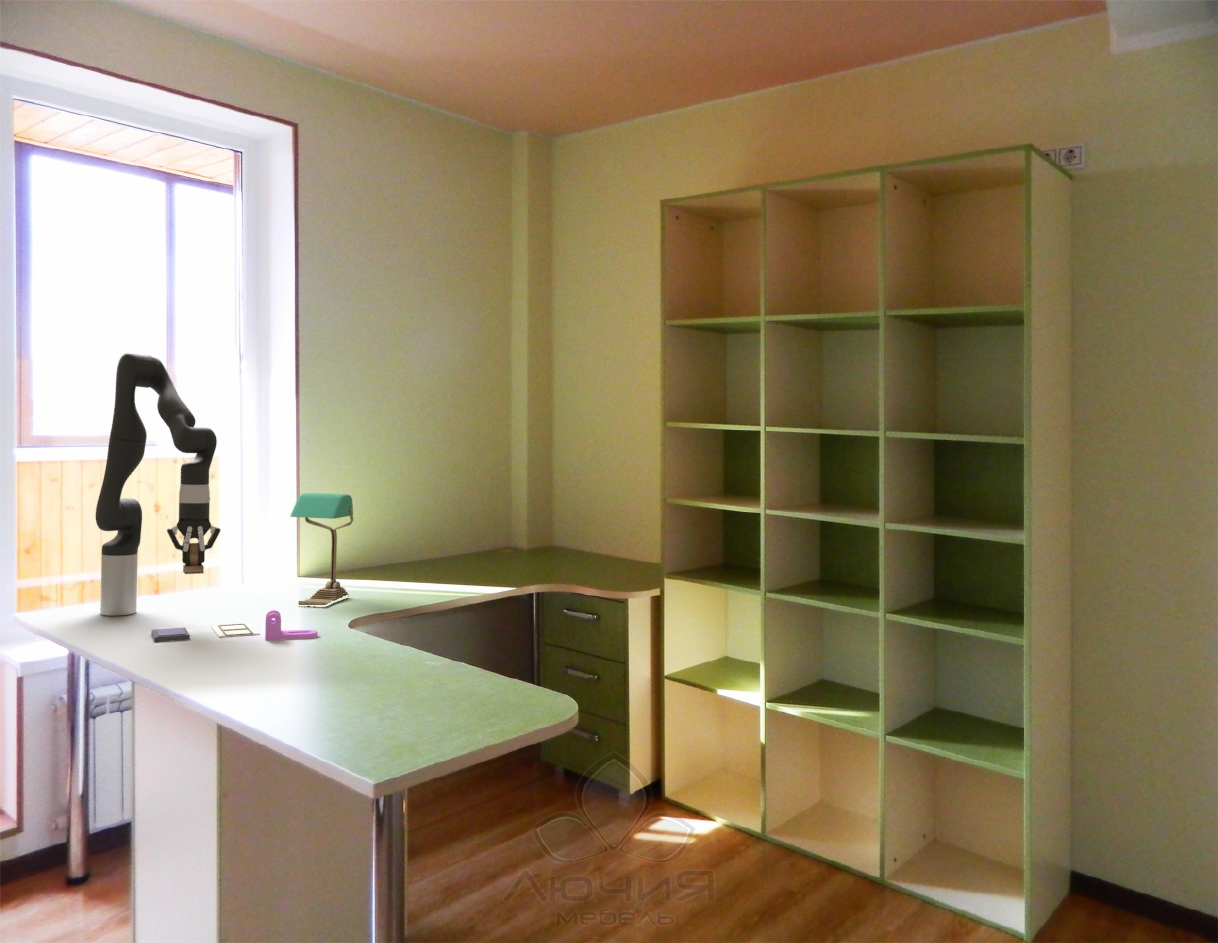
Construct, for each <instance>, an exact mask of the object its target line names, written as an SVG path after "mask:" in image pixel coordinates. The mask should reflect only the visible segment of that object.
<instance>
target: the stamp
mask: <svg viewBox="0 0 1218 943" xmlns="http://www.w3.org/2000/svg"><path fill="white" fill-rule="evenodd" d="M188 552H189V565H185V564H182V566H183V567H182V570H183V571H182V572H183V573H184V575H194V574H195V575H197V574H198V575H199V574H204V570H205V568H204V565H203V564H202V565H199V543H198V542H190V543H189V547H188Z"/></svg>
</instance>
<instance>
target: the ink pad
mask: <svg viewBox="0 0 1218 943" xmlns="http://www.w3.org/2000/svg"><path fill="white" fill-rule="evenodd" d="M152 636H153V637H152ZM190 636H191V634H190V633H189V631H188V629H187V628H186V627H172V628H171V627H170V628H159V629H157V628H156V629H155V628H154V629H151V637H152V639H153V638H154V639H153V640H154V643H158V642H157V641H162V642H172V641H171V640H176V641H186V640H187V639H190V640H191V638H190ZM185 639H186V640H185ZM169 640H170V641H169ZM187 641H188V640H187Z"/></svg>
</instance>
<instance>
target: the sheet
mask: <svg viewBox="0 0 1218 943" xmlns="http://www.w3.org/2000/svg"><path fill="white" fill-rule="evenodd" d="M210 628H211V629H212V630H213V631H214V633H215V634H216V636H217V637H218V636H219V637H218V638H230V637H229V636H233V637H243V635H247V636H260V632H259V631H258V630H257V629H256V628H255V627H254V625H252V624H251V623H235V624H233V623H231V624H218V625H215V626H214V625H213V626H211V627H210ZM241 635H242V636H241Z"/></svg>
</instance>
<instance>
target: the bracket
mask: <svg viewBox="0 0 1218 943" xmlns="http://www.w3.org/2000/svg"><path fill="white" fill-rule="evenodd" d="M281 617H282V616H281V612H279V611H278V610H276V609H272V610H269V611H268V612H267V613H266V615H265V633H264V634H265V636H264V639H265V641H283V639H288V640H304V639H307V638H310V639H315V638H314V637H316V638H318V635H319V634H318V630H315V629H292V630H291V629H290V630H287V629H286V630H282V618H281ZM280 639H281V640H280ZM307 640H308V639H307Z"/></svg>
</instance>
